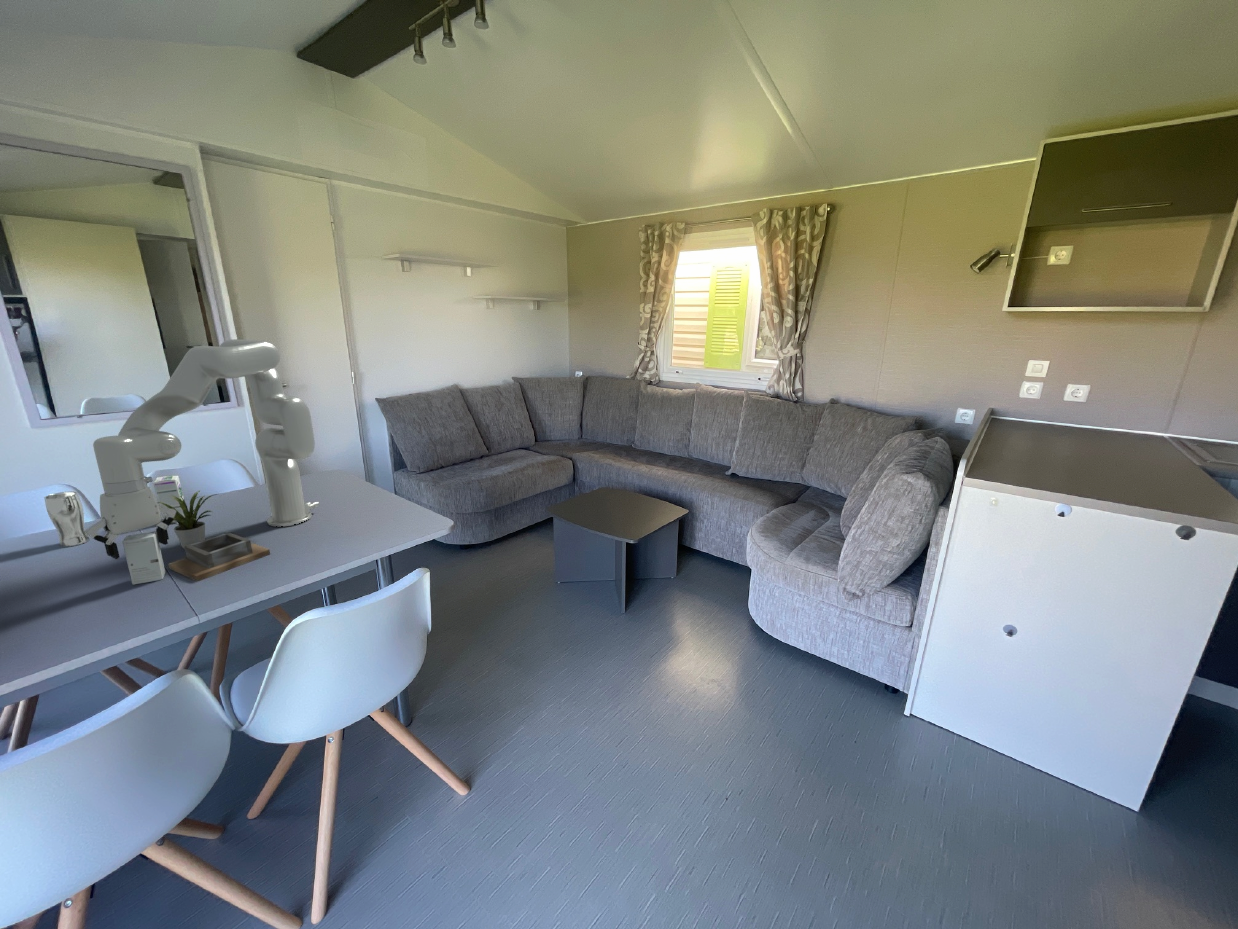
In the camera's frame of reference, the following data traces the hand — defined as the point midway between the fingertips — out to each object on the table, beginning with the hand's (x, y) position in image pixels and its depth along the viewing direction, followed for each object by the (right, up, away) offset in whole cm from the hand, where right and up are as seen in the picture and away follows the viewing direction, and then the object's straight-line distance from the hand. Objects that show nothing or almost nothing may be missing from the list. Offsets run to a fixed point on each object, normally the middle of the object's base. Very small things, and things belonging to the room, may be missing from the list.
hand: (140, 550), depth 127 cm
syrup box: (-26, +3, +39) cm, 47 cm away
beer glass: (-40, -2, +21) cm, 45 cm away
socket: (+11, -5, +13) cm, 17 cm away
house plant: (-4, -2, +23) cm, 23 cm away
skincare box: (0, -8, +3) cm, 9 cm away
